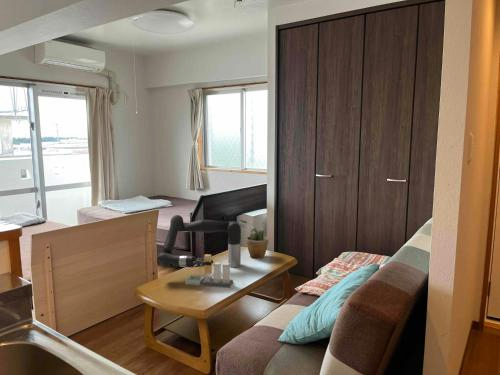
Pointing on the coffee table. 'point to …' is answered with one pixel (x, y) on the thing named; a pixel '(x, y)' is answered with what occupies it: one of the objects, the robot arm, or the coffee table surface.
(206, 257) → the block
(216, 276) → the block
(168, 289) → the coffee table surface
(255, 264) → the coffee table surface
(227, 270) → the end white fuse
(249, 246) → the potted plant
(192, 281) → the tray
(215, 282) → the fuse block
